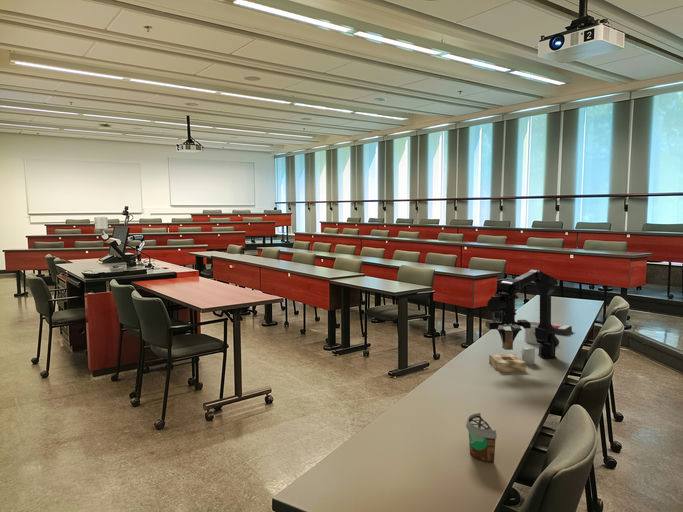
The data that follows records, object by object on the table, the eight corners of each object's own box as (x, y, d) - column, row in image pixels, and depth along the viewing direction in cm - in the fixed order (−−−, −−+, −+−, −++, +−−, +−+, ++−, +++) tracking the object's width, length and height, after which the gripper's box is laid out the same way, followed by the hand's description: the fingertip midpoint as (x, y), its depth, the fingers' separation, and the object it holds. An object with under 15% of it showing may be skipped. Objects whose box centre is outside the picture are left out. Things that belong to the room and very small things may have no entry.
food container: (459, 444, 140) (460, 413, 139) (479, 443, 141) (479, 412, 140) (474, 467, 128) (475, 432, 127) (496, 465, 128) (496, 431, 128)
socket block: (514, 362, 215) (514, 354, 215) (525, 371, 203) (525, 362, 203) (489, 363, 215) (489, 354, 214) (498, 371, 203) (499, 363, 202)
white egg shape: (531, 360, 217) (531, 346, 216) (536, 364, 212) (537, 349, 211) (519, 361, 217) (520, 346, 216) (524, 365, 211) (525, 350, 211)
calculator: (545, 322, 278) (571, 324, 267) (545, 329, 278) (572, 332, 267) (538, 325, 270) (565, 328, 259) (538, 332, 270) (565, 336, 260)
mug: (524, 343, 245) (524, 325, 244) (524, 338, 255) (524, 320, 254) (552, 346, 240) (552, 327, 239) (551, 340, 250) (551, 322, 249)
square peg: (509, 347, 210) (510, 330, 209) (512, 349, 206) (513, 332, 206) (502, 347, 210) (502, 330, 209) (505, 349, 206) (505, 332, 205)
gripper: (521, 305, 215) (520, 337, 216) (481, 305, 214) (481, 338, 216) (531, 310, 204) (530, 344, 205) (490, 311, 203) (489, 345, 204)
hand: (507, 343), depth 208 cm, fingers closed on square peg, 3 cm apart
